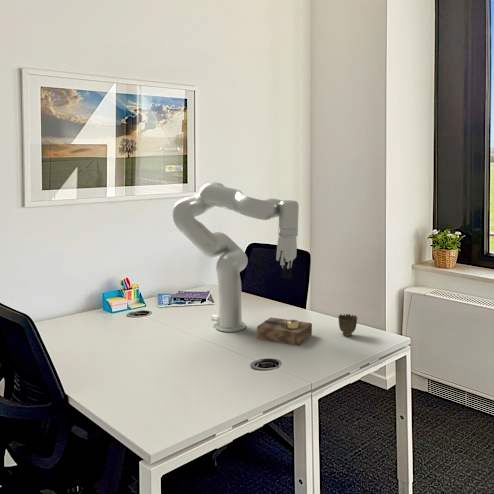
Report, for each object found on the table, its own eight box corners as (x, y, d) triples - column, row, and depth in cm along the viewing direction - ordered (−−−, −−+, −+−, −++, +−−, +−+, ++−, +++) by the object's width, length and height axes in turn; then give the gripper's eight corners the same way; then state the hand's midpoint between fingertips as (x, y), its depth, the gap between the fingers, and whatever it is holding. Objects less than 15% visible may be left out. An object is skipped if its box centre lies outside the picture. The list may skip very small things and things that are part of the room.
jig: (257, 338, 221) (257, 324, 220) (270, 328, 232) (270, 315, 231) (299, 345, 213) (299, 330, 212) (311, 335, 224) (311, 321, 223)
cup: (356, 339, 219) (357, 319, 217) (337, 338, 220) (338, 318, 219) (356, 333, 226) (357, 314, 225) (338, 332, 227) (338, 313, 226)
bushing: (285, 339, 220) (285, 321, 219) (289, 335, 224) (289, 318, 222) (295, 340, 218) (295, 323, 217) (299, 337, 222) (300, 320, 220)
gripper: (286, 228, 227) (285, 272, 231) (271, 233, 214) (269, 280, 218) (304, 230, 224) (302, 275, 227) (289, 235, 211) (287, 283, 214)
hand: (286, 277), depth 223 cm, fingers closed
